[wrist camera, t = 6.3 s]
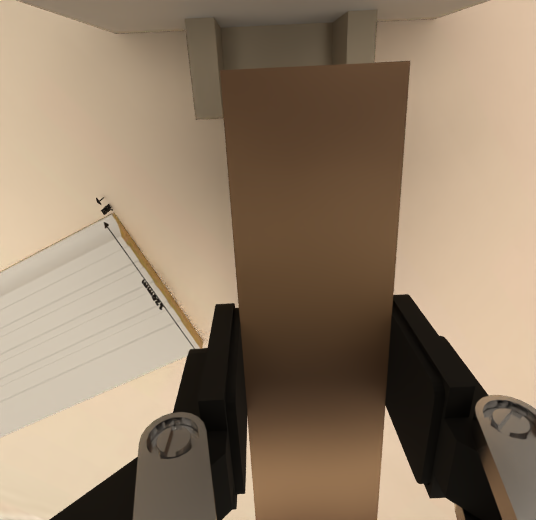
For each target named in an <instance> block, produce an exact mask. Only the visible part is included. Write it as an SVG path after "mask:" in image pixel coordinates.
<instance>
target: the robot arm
mask: <svg viewBox="0 0 536 520" xmlns="http://www.w3.org/2000/svg"><path fill="white" fill-rule="evenodd" d="M385 405H386V408H387V410H388V413H389V415H390V417H391V420H392V422H393V425H394V427H395V430H396V432H397V435H398V437H399V440H400V442H401V445H402V447H403V450H404V452H405V455H406V457H407V460H408V462H409V465H410V467H411V469H412V472H413V474H414V477H415V479H416V481H417V483H419V484H424V485H425V488H426V490H427V492H428V495H429V497H430V498H447V499H448V500H450V501H452V502H453V503H454V505H455V513H456V517H457V520H536V409H535V408H533V407H532V406H530V405H528V404H527V403H525V402H523V401H521V400H518V399H515V398H512V397H508V396H502V395H490V396H489V395H488V394H487V393H486V391H485V390H484V389H483V387H482V386H481V385H480V383H479V382H478V381H477V379H476V378H475V377H474V375H473V374H472V373H471V371H470V370H469V369H468V367H467V366H466V365H465V363H464V362H463V361H462V359H461V358H460V357H459V355H458V354H457V353H456V351H455V350H454V349H453V347H452V346H451V345H450V343H449V342H448V341H447V340H446V339H445V338H444V337H443V336H439V335H438V334H437V333H436V331H435V330H434V328H433V327H432V326H431V324H430V323H429V322H428V320H427V319H426V317H425V316H424V315H423V313H422V312H421V311H420V309H419V308H418V306H417V305H416V304H415V302H414V301H413V300H412V298H411V297H410V296H409V295H408V294H405V295H393V305H392V316H391V330H390V344H389V358H388V372H387V386H386V400H385ZM246 445H247V401H246V388H245V375H244V363H243V350H242V338H241V325H240V315H239V308H235V304H234V303H232V304H216V306H215V311H214V317H213V322H212V327H211V333H210V338H209V344H208V348H202V349H190V350H189V352H188V356H187V360H186V363H185V367H184V371H183V375H182V379H181V383H180V387H179V391H178V395H177V399H176V403H175V407H174V411H173V413H171V414H167V415H164V416H162V417H160V418H158V419H157V420H155V421H153V422H152V423H151V424H150V425H149V426H148V427H147V428H146V429H145V431H144V432H143V434H142V435H141V438H140V442H139V450H138V457H137V458H135V459H134V460H132V461H131V462H130V463H128V464H127V465H125V466H124V467H123V468H121V469H120V470H118V471H117V472H116V473H114V474H113V475H111V476H110V477H109V478H107V479H106V480H104V481H103V482H102V483H100V484H99V485H97V486H96V487H95V488H93V489H92V490H90V491H89V492H88V493H86V494H85V495H83V496H82V497H81V498H79V499H78V500H76V501H75V502H74V503H72V504H71V505H69V506H68V507H67V508H65V509H64V510H62V511H61V512H60V513H58V514H57V515H55V516H54V517H53V518H51V519H50V520H222V519H223V518H224V517H225V516H226V515H227V514H228V513H229V512H230V511H231V510H232V509H236V507H237V494H245V482H246Z"/></svg>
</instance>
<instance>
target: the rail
mask: <svg viewBox="0 0 536 520" xmlns="http://www.w3.org/2000/svg"><path fill="white" fill-rule="evenodd" d="M409 70H410V61H401V62H380V63H359V64H338V65H317V66H296V67H276V68H255V69H234V70H220V77H221V89H222V102H223V114H224V127H225V139H226V152H227V165H228V177H229V190H230V202H231V215H232V227H233V240H234V252H235V265H236V277H237V290H238V303H239V315H240V325H241V338H242V350H243V363H244V375H245V388H246V401H247V416H248V428H249V441H250V453H251V466H252V478H253V491H254V503H255V516H256V520H377V513H378V499H379V485H380V471H381V458H382V444H383V430H384V416H385V400H386V386H387V372H388V358H389V344H390V330H391V316H392V305H393V292H394V278H395V264H396V250H397V236H398V222H399V209H400V195H401V181H402V167H403V153H404V139H405V126H406V112H407V98H408V84H409Z"/></svg>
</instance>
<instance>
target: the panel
mask: <svg viewBox="0 0 536 520" xmlns="http://www.w3.org/2000/svg"><path fill="white" fill-rule="evenodd" d="M17 1H20V2H23V3H26V4H29V5H32V6H35V7H38V8H41V9H44V10H47V11H50V12H53V13H56V14H59V15H62V16H65V17H68V18H71V19H74V20H77V21H80V22H83V23H86V24H89V25H92V26H95V27H98V28H101V29H104V30H107V31H110V32H113V33H116V34H119V33H140V32H162V31H183V30H186V37H187V46H188V55H189V63H190V72H191V81H192V90H193V99H194V108H195V117H196V120H197V119H218V118H223V117H224V114H223V102H222V89H221V77H220V70H234V69H255V68H276V67H296V66H317V65H338V64H359V63H374V60H375V43H376V26H377V21H399V20H420V19H436V18H439V17H442V16H445V15H448V14H451V13H454V12H457V11H460V10H463V9H466V8H469V7H472V6H475V5H478V4H481V3H484V2H486V1H489V0H17Z"/></svg>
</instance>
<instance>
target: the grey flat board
mask: <svg viewBox="0 0 536 520" xmlns="http://www.w3.org/2000/svg"><path fill="white" fill-rule="evenodd" d="M103 198H104V197H103ZM103 198H102V199H103ZM96 199H97V198H96ZM102 199H101V200H102ZM101 200H98V199H97V203H99V204H100V205H101V203H100V201H101ZM108 208H109V209H108ZM110 208H111V207H110V205H109V204H108V205H107V206H105V207H104V208H103V209H102V210H101V211H102V213H103V214H104V215H105V214H107V212H109V211H110V210H113V209H110ZM103 211H104V212H103ZM202 345H203V341H202V339H201V338H200V336H199V335H198V334H197V332H196V331H195V329H194V328H193V326H192V325H191V323H190V322H189V321H188V319H187V318H186V316H185V315H184V313H183V312H182V310H181V309H180V308H179V306H178V305H177V303H176V302H175V300H174V299H173V297H172V296H171V295H170V293H169V292H168V290H167V289H166V287H165V286H164V284H163V283H162V282H161V280H160V279H159V277H158V276H157V274H156V273H155V271H154V270H153V269H152V267H151V266H150V264H149V263H148V261H147V260H146V259H145V257H144V256H143V254H142V253H141V251H140V250H139V248H138V247H137V246H136V244H135V243H134V241H133V240H132V238H131V237H130V235H129V234H128V233H127V231H126V230H125V228H124V227H123V225H122V224H121V222H120V221H119V220H118V218H117V217H116V215H115V214H114V213H112V214H110V215H108V216H106V217H105V218H103V219H101V220H99V221H97V222H95V223H93V224H91V225H89V226H87V227H85V228H83V229H82V230H80V231H78V232H76V233H74V234H72V235H70V236H68V237H66V238H64V239H62V240H61V241H59V242H57V243H55V244H53V245H51V246H49V247H47V248H45V249H43V250H41V251H39V252H38V253H36V254H34V255H32V256H30V257H28V258H26V259H24V260H22V261H20V262H18V263H16V264H15V265H13V266H11V267H9V268H7V269H5V270H3V271H1V272H0V438H1V437H3V436H6V435H8V434H10V433H12V432H15V431H17V430H19V429H22V428H24V427H26V426H29V425H31V424H33V423H35V422H38V421H40V420H42V419H45V418H47V417H49V416H51V415H54V414H56V413H58V412H61V411H63V410H65V409H67V408H70V407H72V406H74V405H77V404H79V403H81V402H84V401H86V400H88V399H90V398H93V397H95V396H97V395H100V394H102V393H104V392H106V391H109V390H111V389H113V388H116V387H118V386H120V385H123V384H125V383H127V382H129V381H132V380H134V379H136V378H139V377H141V376H143V375H145V374H148V373H150V372H152V371H155V370H157V369H159V368H161V367H164V366H166V365H168V364H171V363H173V362H175V361H178V360H180V359H182V358H184V357H187V356H188V352H189V350H190V349H202Z"/></svg>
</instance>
